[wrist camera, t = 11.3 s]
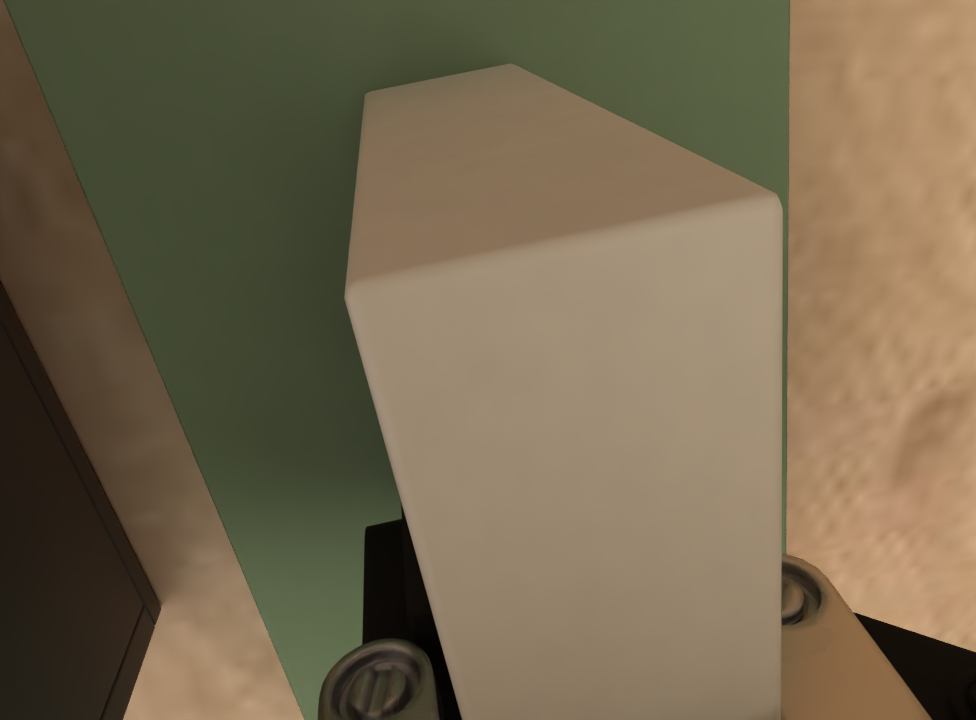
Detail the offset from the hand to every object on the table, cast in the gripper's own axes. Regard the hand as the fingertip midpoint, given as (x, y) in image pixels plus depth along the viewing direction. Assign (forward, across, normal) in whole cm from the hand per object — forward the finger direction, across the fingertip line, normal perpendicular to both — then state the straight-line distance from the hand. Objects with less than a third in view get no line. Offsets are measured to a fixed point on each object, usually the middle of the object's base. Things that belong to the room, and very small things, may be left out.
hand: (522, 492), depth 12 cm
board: (+1, 0, 0) cm, 1 cm away
